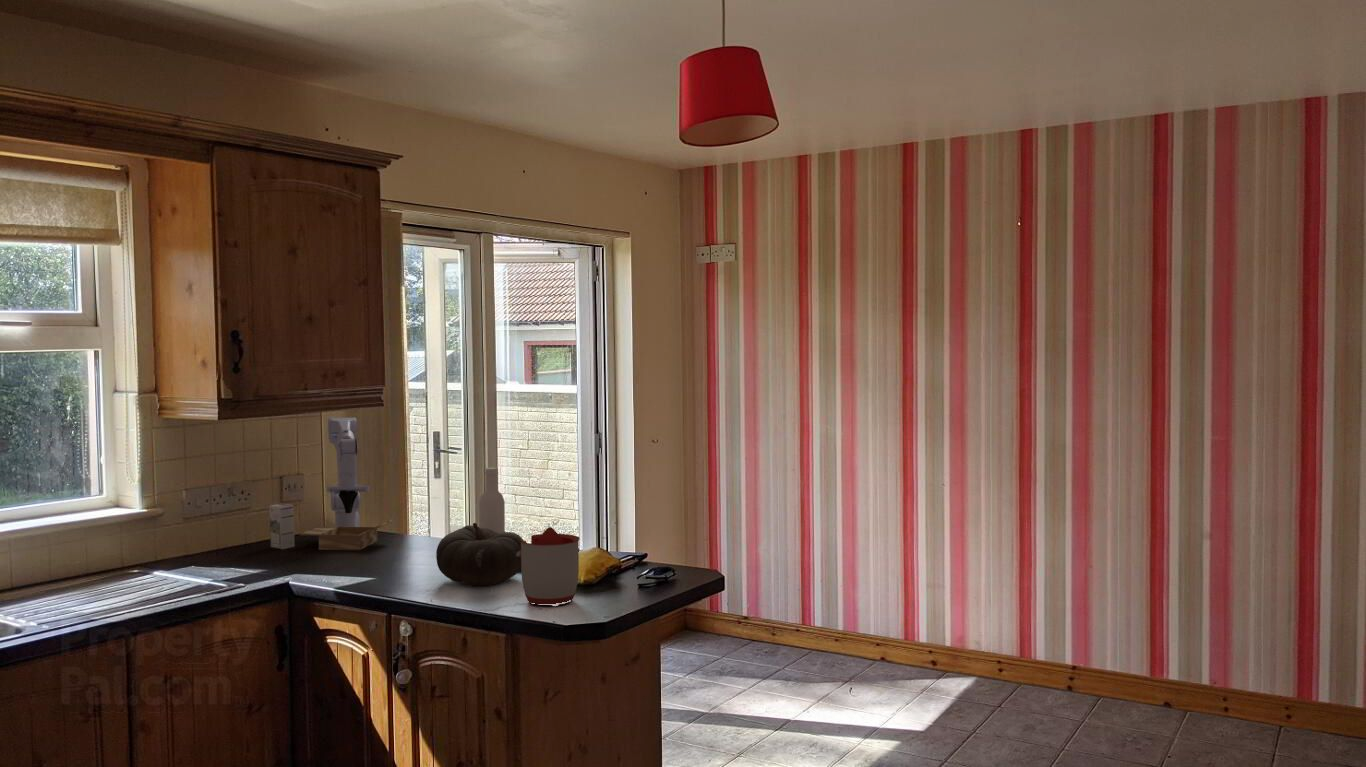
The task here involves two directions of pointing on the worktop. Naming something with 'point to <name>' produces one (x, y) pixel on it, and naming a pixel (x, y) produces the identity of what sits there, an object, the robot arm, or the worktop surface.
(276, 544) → the syrup box
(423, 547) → the worktop surface
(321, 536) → the carton
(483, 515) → the bottle
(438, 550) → the gourd
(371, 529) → the carton flap
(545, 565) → the citrus juicer
